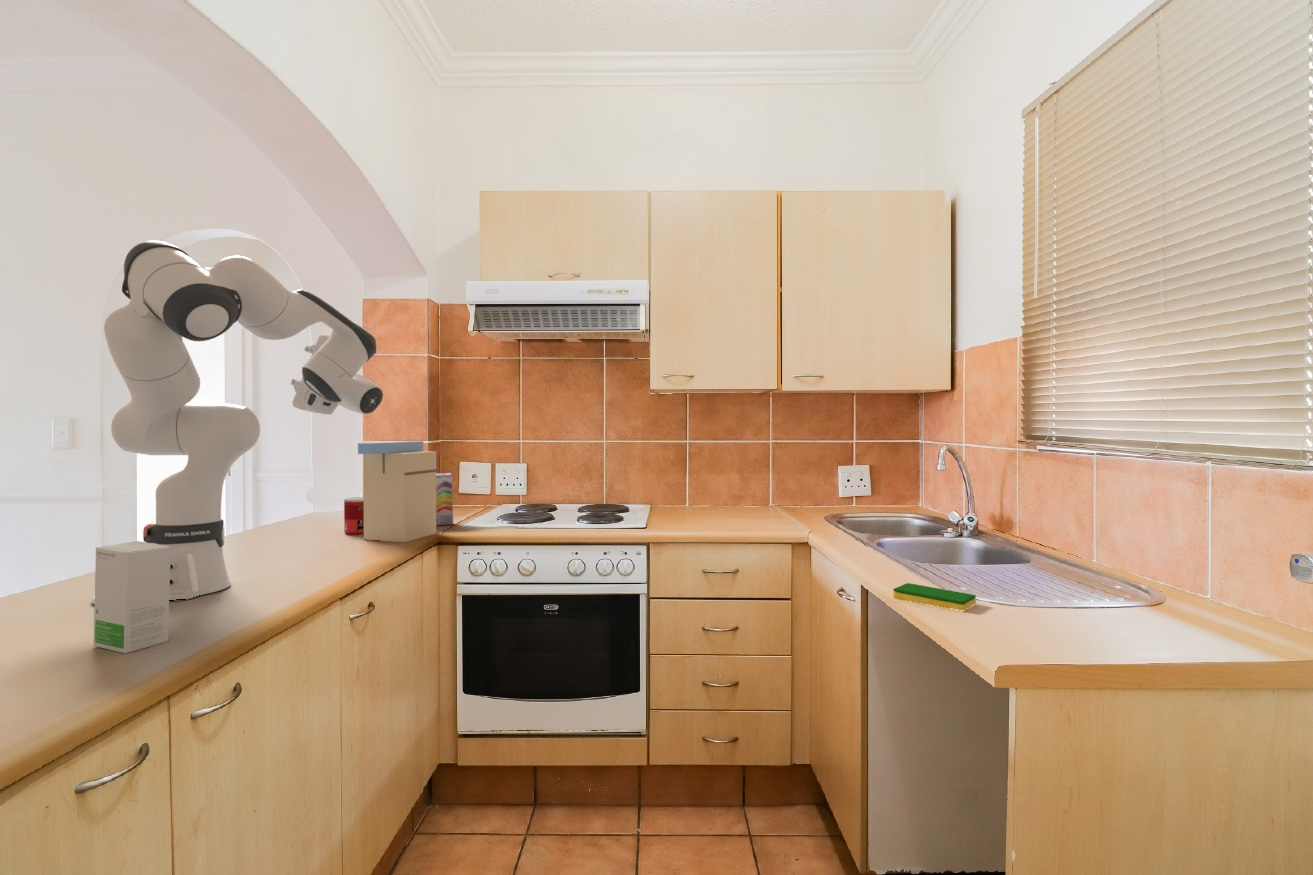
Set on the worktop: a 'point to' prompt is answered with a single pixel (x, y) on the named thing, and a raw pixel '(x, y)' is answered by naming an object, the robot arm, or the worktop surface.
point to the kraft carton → (399, 496)
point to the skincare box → (131, 596)
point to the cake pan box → (444, 499)
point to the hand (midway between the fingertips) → (300, 365)
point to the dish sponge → (934, 596)
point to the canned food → (354, 516)
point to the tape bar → (389, 447)
